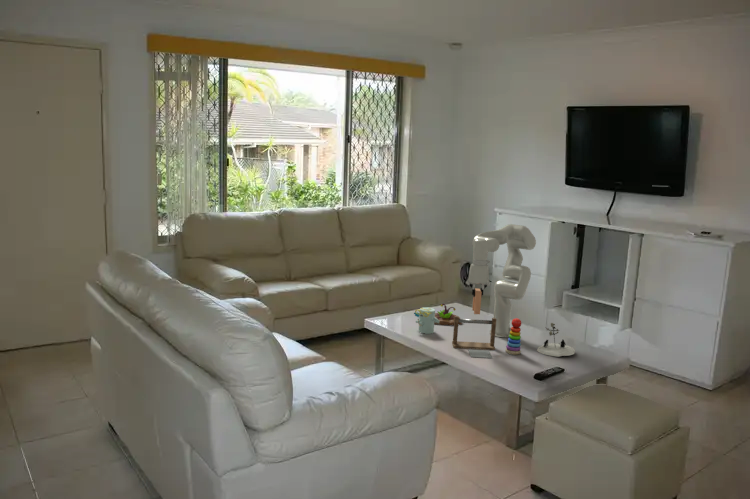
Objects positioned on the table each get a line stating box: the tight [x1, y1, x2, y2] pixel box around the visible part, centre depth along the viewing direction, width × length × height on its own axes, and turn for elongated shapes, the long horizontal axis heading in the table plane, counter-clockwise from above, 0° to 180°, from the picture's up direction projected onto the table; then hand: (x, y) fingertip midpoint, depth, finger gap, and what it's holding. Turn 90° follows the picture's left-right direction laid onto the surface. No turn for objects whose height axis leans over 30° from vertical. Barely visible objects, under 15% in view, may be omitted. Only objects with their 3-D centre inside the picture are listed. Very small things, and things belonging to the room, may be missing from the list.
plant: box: [434, 303, 463, 326], centre depth 388 cm, size 20×20×11 cm
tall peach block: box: [471, 287, 483, 315], centre depth 338 cm, size 3×8×12 cm, turn 179°
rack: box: [451, 315, 496, 351], centre depth 341 cm, size 22×8×16 cm, turn 89°
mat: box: [467, 349, 493, 359], centre depth 330 cm, size 11×11×1 cm
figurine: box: [536, 322, 576, 357], centre depth 339 cm, size 20×18×16 cm
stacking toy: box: [505, 318, 522, 356], centre depth 333 cm, size 8×8×19 cm
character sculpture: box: [413, 306, 440, 335], centre depth 363 cm, size 20×12×13 cm, turn 43°
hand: (477, 296), depth 338 cm, fingers closed on tall peach block, 3 cm apart
